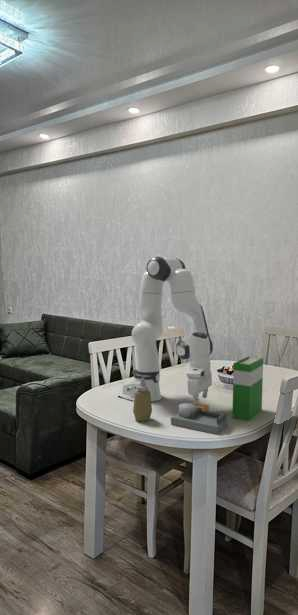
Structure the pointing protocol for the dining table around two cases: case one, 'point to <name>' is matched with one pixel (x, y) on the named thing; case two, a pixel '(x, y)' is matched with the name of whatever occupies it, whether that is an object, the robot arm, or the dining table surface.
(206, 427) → the panel with grey ball
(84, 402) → the dining table surface
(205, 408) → the chute
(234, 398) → the hardback book
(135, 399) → the squeeze bottle
